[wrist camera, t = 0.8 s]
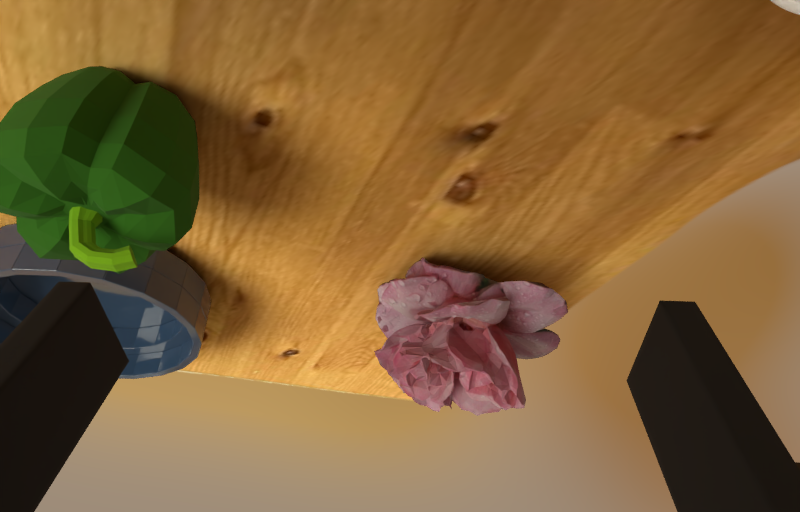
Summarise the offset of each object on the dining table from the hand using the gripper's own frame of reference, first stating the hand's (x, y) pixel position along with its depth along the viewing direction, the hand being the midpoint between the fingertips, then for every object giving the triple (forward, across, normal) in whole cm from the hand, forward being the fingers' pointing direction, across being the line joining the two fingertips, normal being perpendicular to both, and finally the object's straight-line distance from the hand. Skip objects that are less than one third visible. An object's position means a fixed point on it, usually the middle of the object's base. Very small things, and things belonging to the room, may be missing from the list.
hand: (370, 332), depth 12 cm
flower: (+23, +4, -18) cm, 29 cm away
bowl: (+20, -23, -16) cm, 34 cm away
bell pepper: (+16, -14, -1) cm, 22 cm away
